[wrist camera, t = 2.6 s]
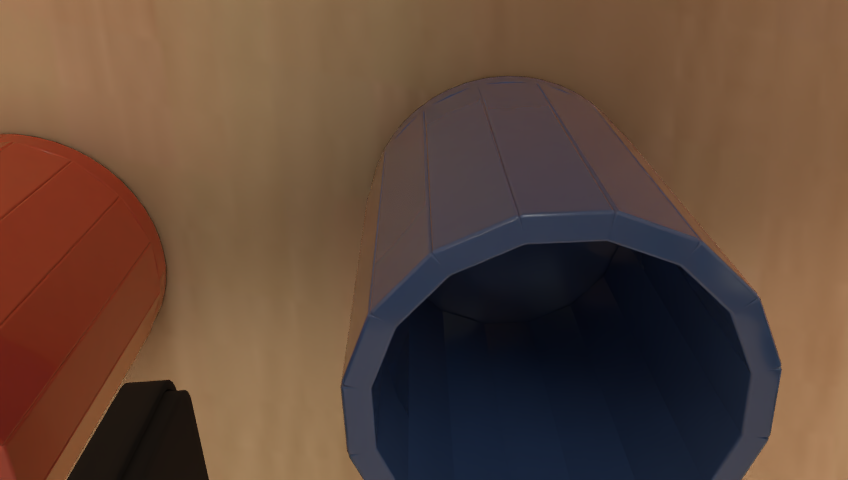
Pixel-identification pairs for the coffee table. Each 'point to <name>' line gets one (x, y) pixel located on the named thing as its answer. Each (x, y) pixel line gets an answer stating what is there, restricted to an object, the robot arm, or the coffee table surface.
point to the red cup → (67, 300)
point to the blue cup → (545, 306)
